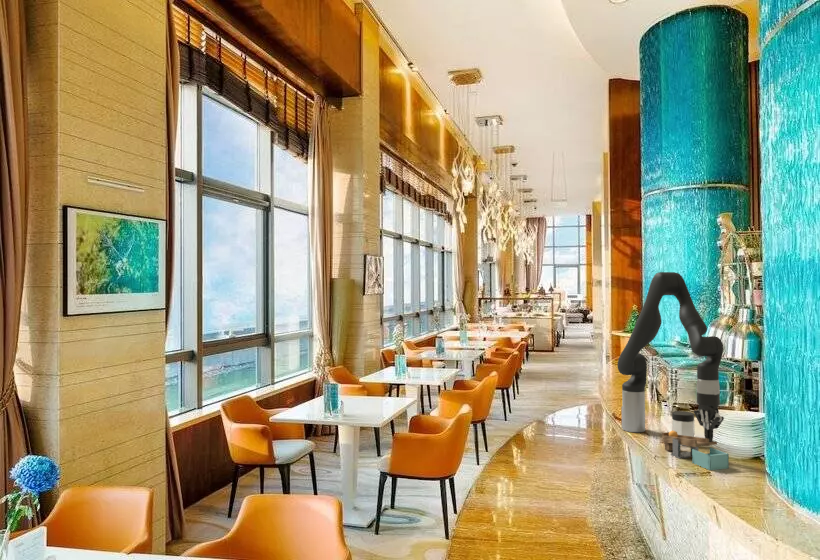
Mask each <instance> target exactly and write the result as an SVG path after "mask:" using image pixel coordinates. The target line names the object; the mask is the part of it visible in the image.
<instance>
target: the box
mask: <svg viewBox="0 0 820 560" xmlns="http://www.w3.org/2000/svg"><path fill="white" fill-rule="evenodd" d="M729 455H730V454H729V453H727V452H724V451H721V450H719V449H717V448H714V447H710V446H709V453H708V452H707V453H704V452H702V451H699V450H698V451H697V450H694V449H692V458H691V459H692V460H691V463H692V464H693V463H694V464H693V465H696V464H697V465H696V466H698V465H699V467H700V466H701V467H700V468H704V469H705V468H706V470H708V471H715V470H717V471H718V470H726V469H729V468H730V467H729V466H730V465H729V463H730V462H729V460H730V459H729Z"/></svg>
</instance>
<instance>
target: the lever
mask: <svg viewBox="0 0 820 560" xmlns="http://www.w3.org/2000/svg"><path fill="white" fill-rule="evenodd" d="M669 432H670V431H667V432H661V436H662V443H663V444H664V451H669V452H670V451H673V438H675V439H678V440H680V446H681V445H686V446H687V447H691V446H692V447H698V448H700V447H701V448H702V447H710V446H715V445H716V446H717V445H718V441H714V440H713V439H714V438H713V439H711V440H709V439H707V438H705V437H698V436H695V437H692V436H685V435H678V437H672V436H669Z"/></svg>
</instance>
